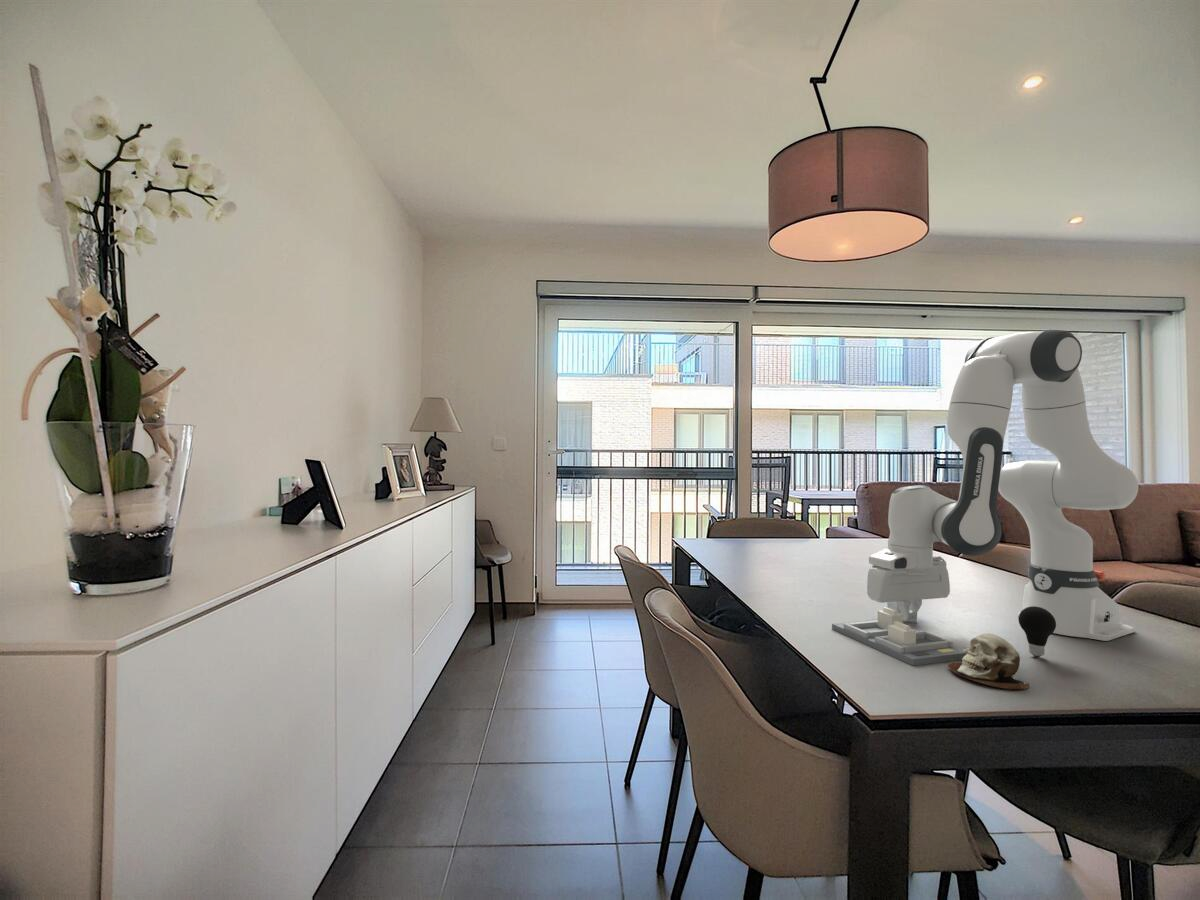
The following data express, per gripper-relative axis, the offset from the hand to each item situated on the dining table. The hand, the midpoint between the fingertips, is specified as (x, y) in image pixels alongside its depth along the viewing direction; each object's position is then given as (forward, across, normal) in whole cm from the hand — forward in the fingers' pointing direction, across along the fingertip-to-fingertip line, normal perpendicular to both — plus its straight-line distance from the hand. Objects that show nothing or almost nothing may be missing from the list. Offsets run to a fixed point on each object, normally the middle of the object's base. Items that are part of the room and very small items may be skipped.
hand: (908, 619), depth 123 cm
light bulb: (+3, -13, +18) cm, 23 cm away
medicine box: (+3, -8, -10) cm, 13 cm away
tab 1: (+2, +5, 0) cm, 6 cm away
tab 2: (+2, +11, +9) cm, 14 cm away
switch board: (+3, +8, +4) cm, 10 cm away
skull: (+4, +6, +23) cm, 24 cm away
